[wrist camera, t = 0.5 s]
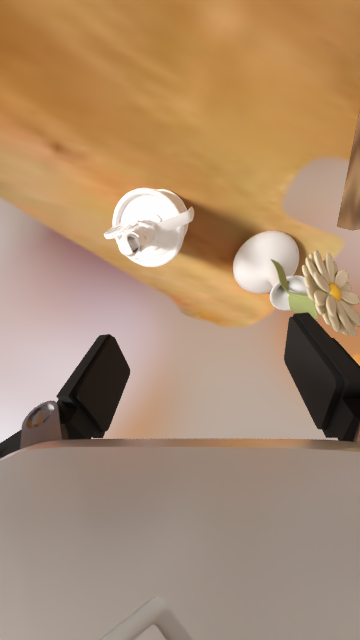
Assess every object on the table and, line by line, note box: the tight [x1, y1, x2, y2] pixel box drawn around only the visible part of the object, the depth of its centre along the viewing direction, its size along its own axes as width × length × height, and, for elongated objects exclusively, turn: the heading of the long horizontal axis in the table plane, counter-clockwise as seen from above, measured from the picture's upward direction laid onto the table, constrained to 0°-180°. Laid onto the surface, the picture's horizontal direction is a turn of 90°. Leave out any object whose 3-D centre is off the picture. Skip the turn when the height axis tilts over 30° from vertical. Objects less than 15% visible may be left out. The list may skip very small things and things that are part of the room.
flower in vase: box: [233, 231, 360, 336], centre depth 26 cm, size 13×11×25 cm
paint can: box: [104, 188, 194, 267], centre depth 26 cm, size 10×9×20 cm
